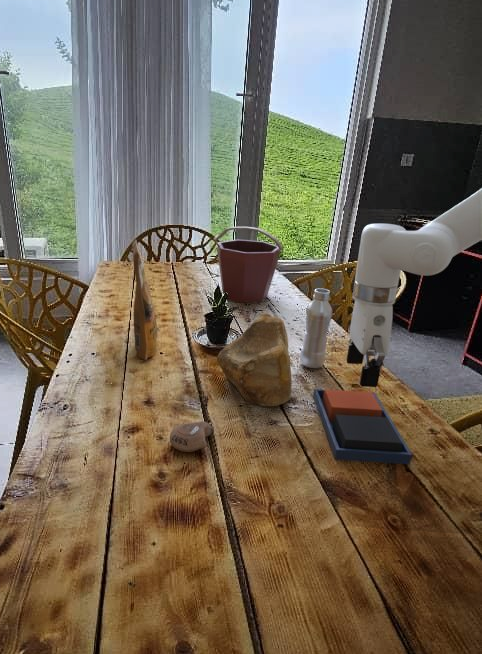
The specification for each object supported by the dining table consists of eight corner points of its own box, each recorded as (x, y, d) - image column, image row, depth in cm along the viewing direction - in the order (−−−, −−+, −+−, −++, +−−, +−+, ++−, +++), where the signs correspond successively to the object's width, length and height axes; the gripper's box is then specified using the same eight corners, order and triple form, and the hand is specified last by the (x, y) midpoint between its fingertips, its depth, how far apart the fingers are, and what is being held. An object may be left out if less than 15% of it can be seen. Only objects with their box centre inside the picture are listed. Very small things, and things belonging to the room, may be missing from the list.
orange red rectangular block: (368, 406, 96) (371, 392, 94) (379, 425, 89) (382, 410, 88) (322, 403, 96) (324, 389, 95) (329, 421, 89) (331, 407, 88)
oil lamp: (219, 459, 80) (210, 432, 87) (223, 440, 78) (214, 415, 85) (170, 457, 78) (165, 430, 85) (173, 438, 76) (168, 412, 83)
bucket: (200, 295, 163) (203, 226, 154) (231, 282, 180) (236, 219, 171) (259, 310, 150) (266, 236, 141) (287, 295, 167) (295, 228, 158)
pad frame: (372, 402, 98) (374, 392, 97) (409, 466, 78) (412, 454, 78) (312, 398, 99) (314, 388, 98) (334, 461, 79) (336, 449, 78)
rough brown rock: (219, 362, 115) (217, 308, 109) (284, 362, 113) (286, 307, 107) (214, 415, 94) (211, 352, 88) (293, 416, 92) (296, 351, 86)
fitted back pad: (383, 432, 87) (387, 417, 85) (398, 459, 79) (402, 443, 78) (332, 429, 87) (335, 414, 86) (342, 455, 80) (345, 439, 78)
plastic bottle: (299, 369, 111) (309, 293, 104) (298, 358, 117) (307, 285, 110) (325, 372, 110) (337, 296, 103) (323, 360, 116) (334, 287, 109)
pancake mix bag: (127, 363, 111) (124, 252, 100) (135, 333, 128) (133, 236, 118) (154, 363, 111) (154, 253, 101) (158, 333, 129) (158, 237, 118)
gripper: (413, 308, 74) (395, 397, 80) (379, 280, 90) (367, 356, 97) (367, 306, 75) (353, 395, 81) (342, 279, 91) (332, 355, 97)
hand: (360, 374), depth 89 cm, fingers open, 9 cm apart
